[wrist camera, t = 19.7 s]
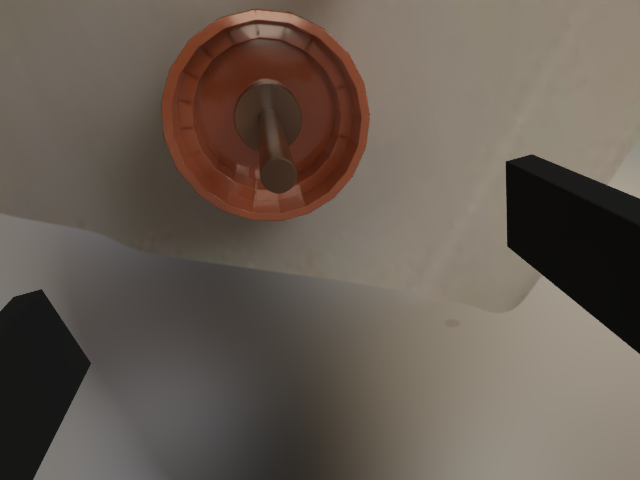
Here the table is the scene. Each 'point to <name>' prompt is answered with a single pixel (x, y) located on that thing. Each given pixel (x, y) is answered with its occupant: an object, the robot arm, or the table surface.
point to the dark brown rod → (270, 131)
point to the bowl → (221, 98)
